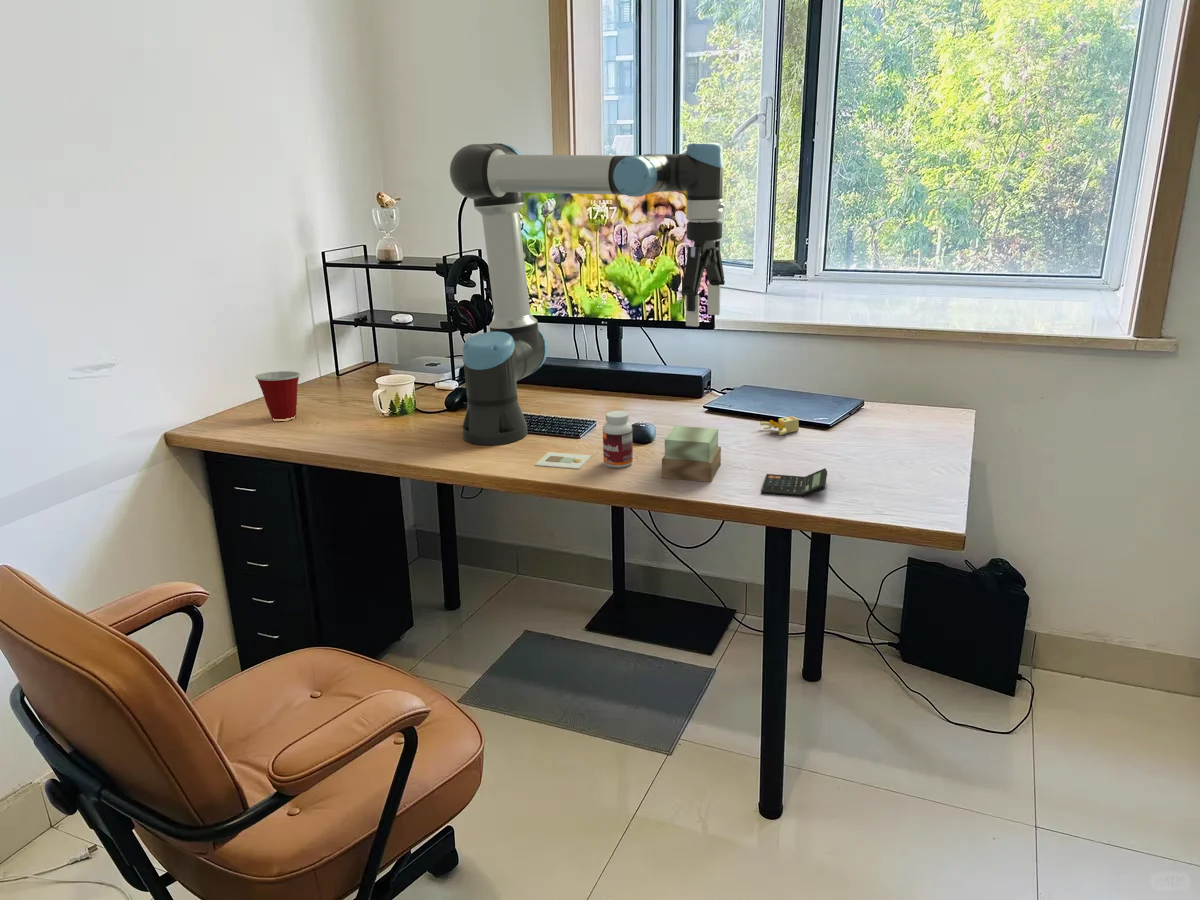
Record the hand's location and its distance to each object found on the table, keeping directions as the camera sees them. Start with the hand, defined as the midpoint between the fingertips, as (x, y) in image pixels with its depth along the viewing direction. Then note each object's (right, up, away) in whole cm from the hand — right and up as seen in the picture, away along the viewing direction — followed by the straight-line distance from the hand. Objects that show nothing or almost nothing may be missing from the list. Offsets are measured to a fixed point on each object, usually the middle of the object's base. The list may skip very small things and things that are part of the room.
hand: (703, 320), depth 188 cm
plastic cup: (-104, -21, +33) cm, 111 cm away
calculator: (+15, -36, -23) cm, 45 cm away
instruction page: (-30, -31, -5) cm, 44 cm away
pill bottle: (-19, -32, -7) cm, 37 cm away
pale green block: (-4, -33, -13) cm, 36 cm away
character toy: (+18, -25, +9) cm, 32 cm away
